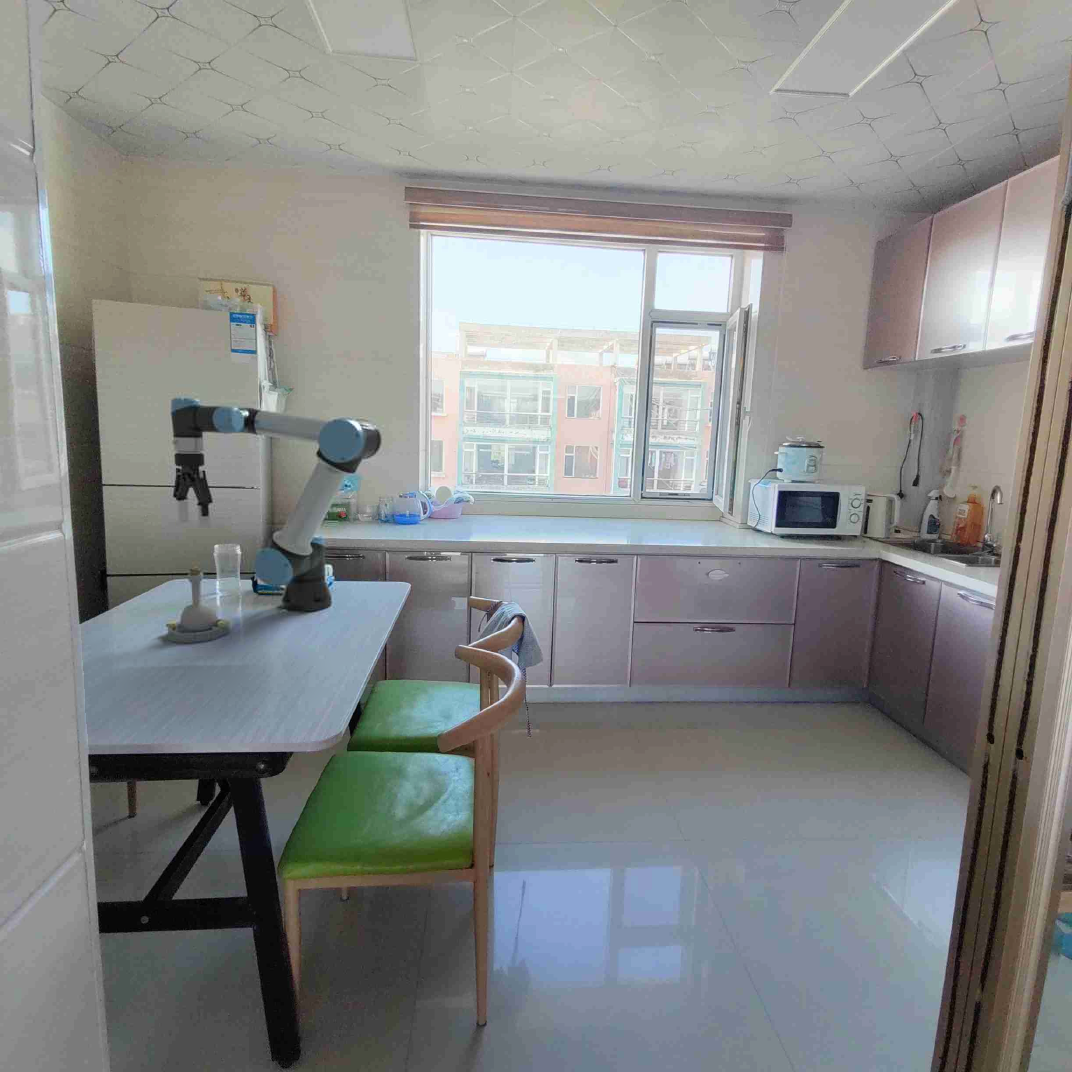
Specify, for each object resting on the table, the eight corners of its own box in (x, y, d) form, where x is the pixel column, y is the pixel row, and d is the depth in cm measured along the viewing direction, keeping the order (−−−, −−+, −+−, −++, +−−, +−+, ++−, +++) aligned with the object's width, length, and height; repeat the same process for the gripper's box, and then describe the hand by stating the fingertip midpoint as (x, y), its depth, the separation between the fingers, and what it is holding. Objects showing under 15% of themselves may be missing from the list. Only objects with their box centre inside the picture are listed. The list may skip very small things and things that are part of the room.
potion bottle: (194, 625, 171) (189, 562, 168) (224, 627, 170) (220, 563, 167) (172, 635, 163) (167, 569, 160) (204, 637, 162) (199, 571, 159)
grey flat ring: (238, 624, 175) (237, 613, 175) (218, 642, 161) (217, 630, 160) (181, 625, 173) (180, 614, 173) (155, 643, 159) (154, 631, 158)
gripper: (157, 450, 183) (162, 521, 186) (194, 454, 168) (199, 531, 171) (184, 450, 189) (188, 518, 192) (222, 454, 174) (227, 528, 177)
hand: (194, 524), depth 182 cm, fingers open, 13 cm apart
